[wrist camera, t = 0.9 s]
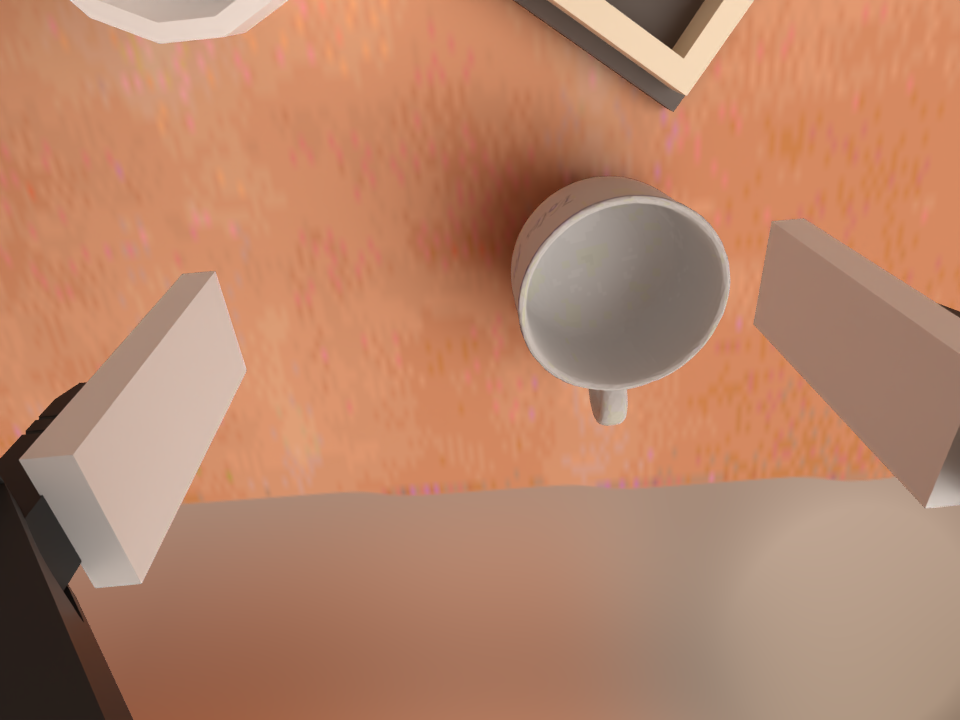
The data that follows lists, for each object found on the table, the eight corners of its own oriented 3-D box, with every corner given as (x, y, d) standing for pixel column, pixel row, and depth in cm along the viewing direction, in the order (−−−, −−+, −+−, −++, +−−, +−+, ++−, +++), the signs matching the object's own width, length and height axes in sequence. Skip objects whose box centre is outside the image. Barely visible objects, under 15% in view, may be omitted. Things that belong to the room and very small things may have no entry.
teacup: (522, 146, 35) (540, 184, 28) (707, 171, 36) (768, 214, 29) (486, 359, 42) (493, 432, 35) (642, 375, 43) (678, 448, 36)
